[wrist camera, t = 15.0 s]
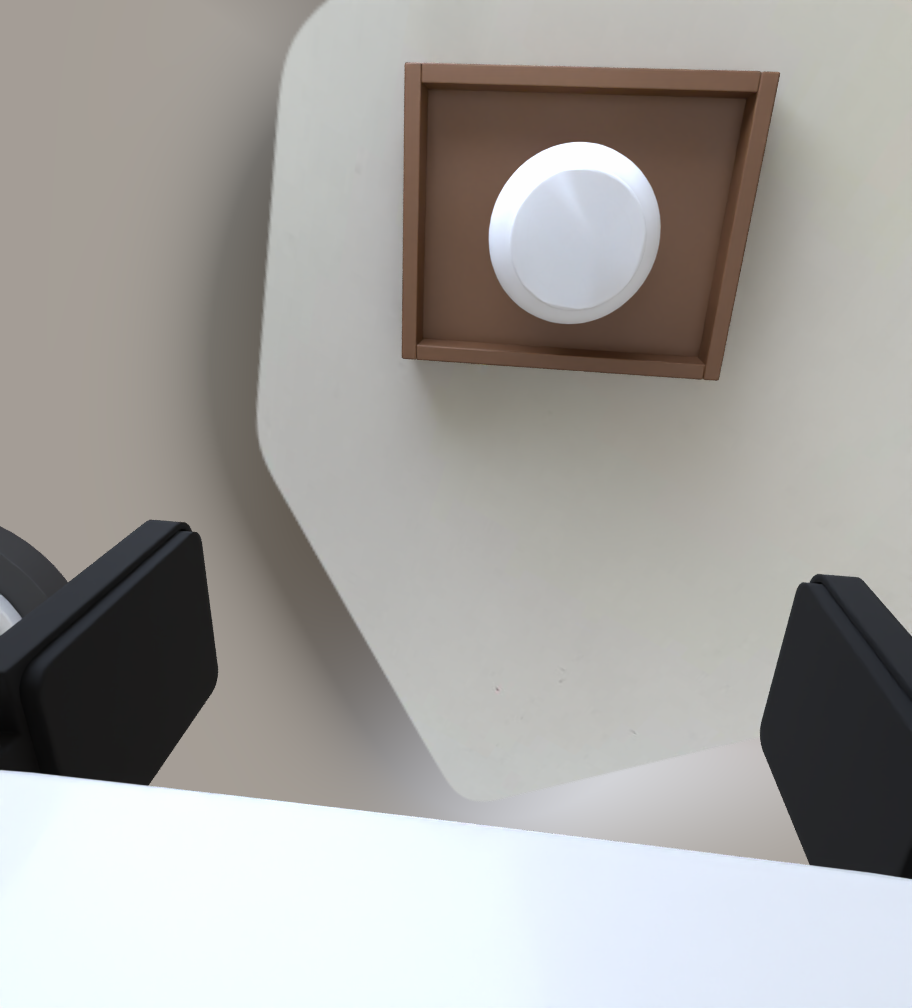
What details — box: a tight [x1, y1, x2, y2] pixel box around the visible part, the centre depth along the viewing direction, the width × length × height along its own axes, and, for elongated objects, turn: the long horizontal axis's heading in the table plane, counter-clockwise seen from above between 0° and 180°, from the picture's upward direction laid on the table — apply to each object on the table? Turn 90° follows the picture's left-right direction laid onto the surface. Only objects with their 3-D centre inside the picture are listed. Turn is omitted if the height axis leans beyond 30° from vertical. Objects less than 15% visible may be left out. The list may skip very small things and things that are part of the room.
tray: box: [402, 62, 780, 381], centre depth 34 cm, size 17×14×3 cm
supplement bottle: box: [489, 142, 661, 324], centre depth 29 cm, size 7×7×13 cm
